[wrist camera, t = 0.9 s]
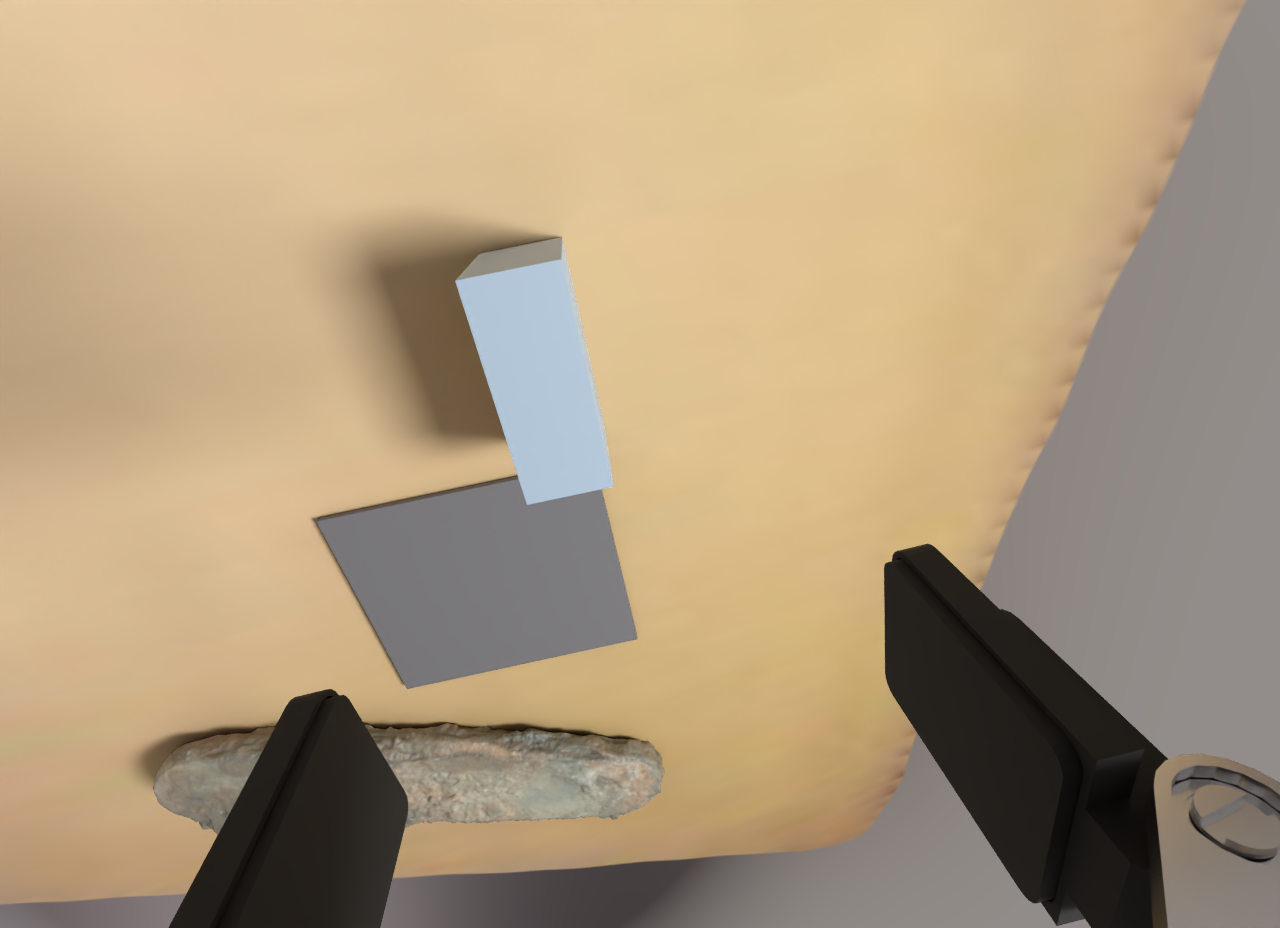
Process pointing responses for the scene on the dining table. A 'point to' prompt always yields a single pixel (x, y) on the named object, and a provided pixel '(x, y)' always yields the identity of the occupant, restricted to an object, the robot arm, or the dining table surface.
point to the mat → (483, 578)
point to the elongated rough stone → (444, 774)
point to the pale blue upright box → (538, 368)
